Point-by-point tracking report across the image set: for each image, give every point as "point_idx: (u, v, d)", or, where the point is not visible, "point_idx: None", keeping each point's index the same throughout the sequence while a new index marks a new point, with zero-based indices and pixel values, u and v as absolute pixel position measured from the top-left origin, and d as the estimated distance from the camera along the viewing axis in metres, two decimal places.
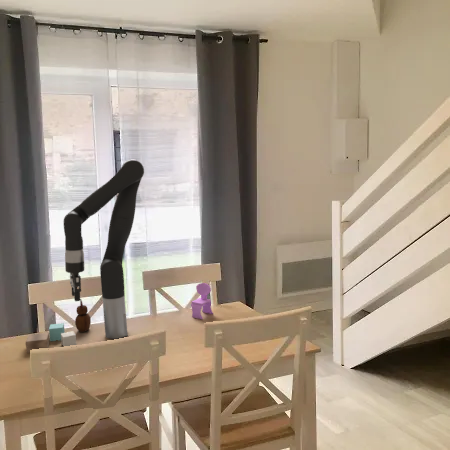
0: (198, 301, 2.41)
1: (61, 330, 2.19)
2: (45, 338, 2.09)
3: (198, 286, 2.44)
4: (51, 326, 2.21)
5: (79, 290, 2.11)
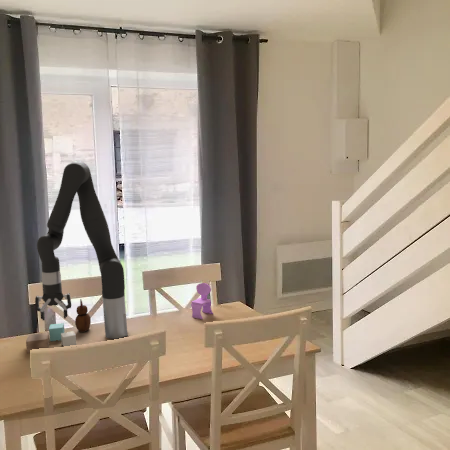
0: (198, 301, 2.41)
1: (61, 330, 2.19)
2: (45, 338, 2.09)
3: (198, 286, 2.44)
4: (51, 326, 2.21)
5: None
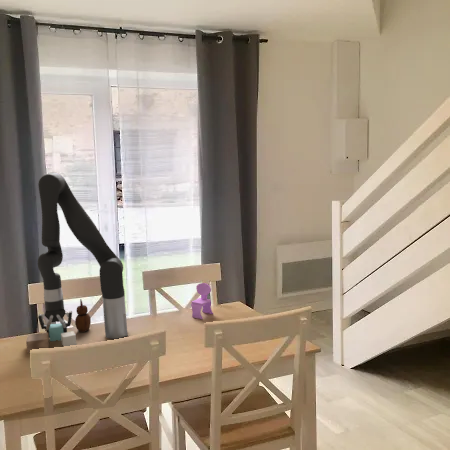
0: (198, 301, 2.41)
1: (61, 330, 2.19)
2: (46, 338, 2.09)
3: (198, 286, 2.44)
4: (51, 326, 2.21)
5: None
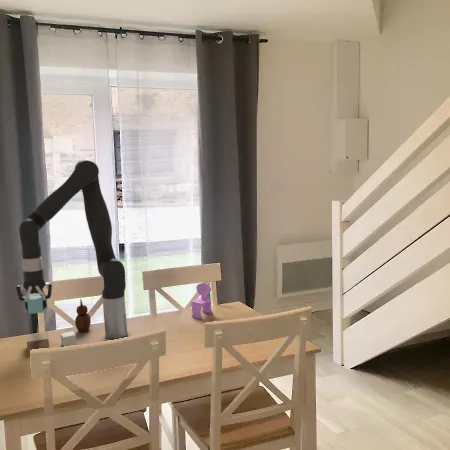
0: (198, 301, 2.41)
1: (40, 302, 2.08)
2: (46, 338, 2.09)
3: (198, 286, 2.44)
4: (30, 298, 2.10)
5: None
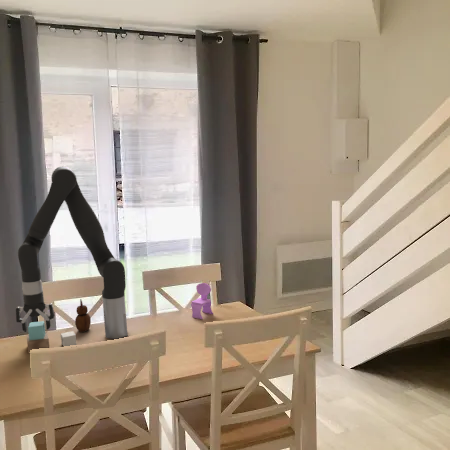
0: (198, 301, 2.41)
1: (41, 328, 2.08)
2: (46, 337, 2.10)
3: (198, 286, 2.44)
4: (30, 324, 2.10)
5: None
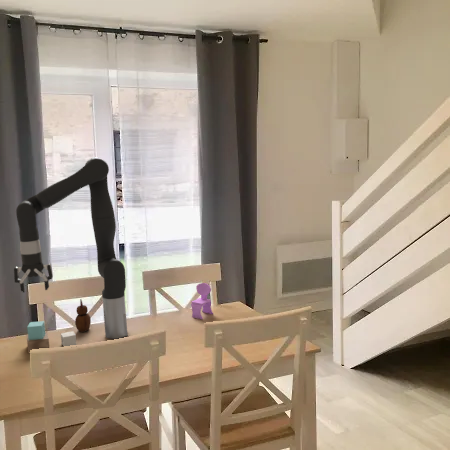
0: (198, 301, 2.41)
1: (40, 328, 2.08)
2: (46, 337, 2.10)
3: (198, 286, 2.44)
4: (30, 324, 2.10)
5: (52, 276, 2.11)
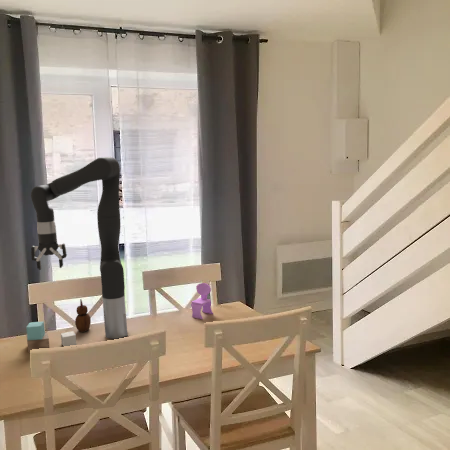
0: (198, 301, 2.41)
1: (39, 329, 2.07)
2: (46, 337, 2.10)
3: (198, 286, 2.44)
4: (30, 324, 2.10)
5: (66, 255, 2.28)
